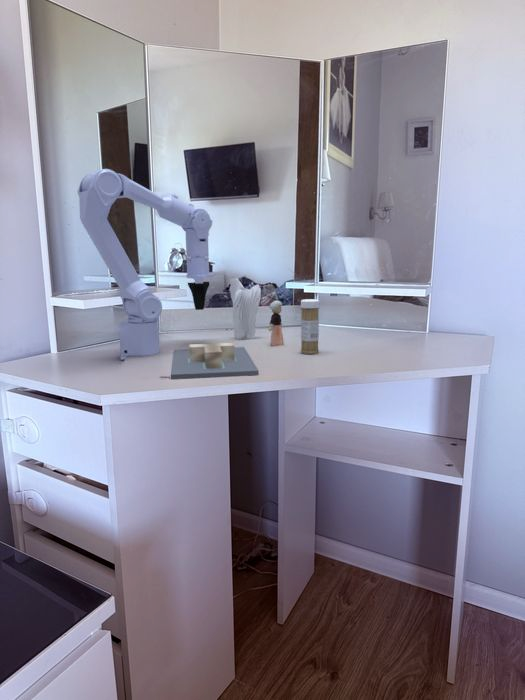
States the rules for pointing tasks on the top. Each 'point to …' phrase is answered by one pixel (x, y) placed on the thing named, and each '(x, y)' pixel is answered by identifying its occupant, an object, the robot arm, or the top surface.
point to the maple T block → (212, 354)
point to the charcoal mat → (198, 369)
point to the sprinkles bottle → (309, 326)
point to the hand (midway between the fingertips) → (199, 309)
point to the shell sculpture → (244, 309)
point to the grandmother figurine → (276, 324)
